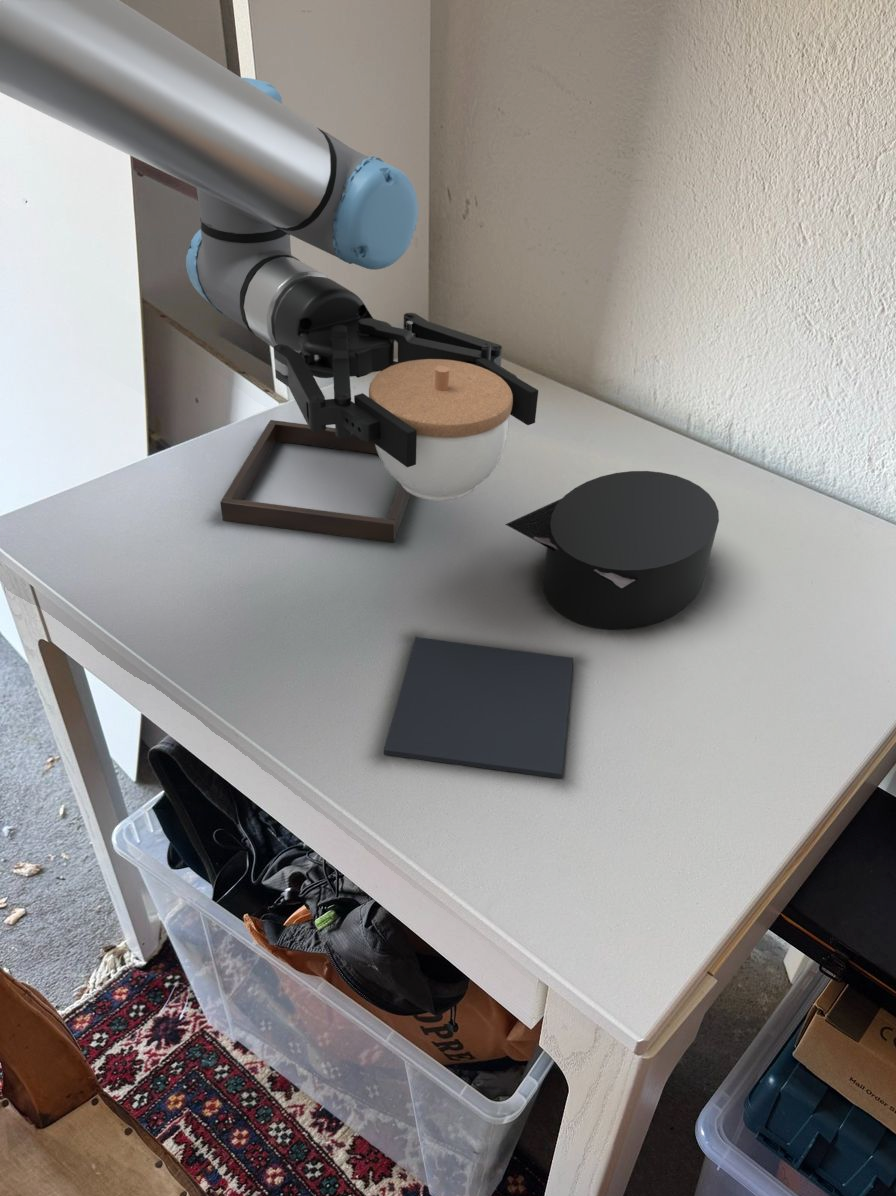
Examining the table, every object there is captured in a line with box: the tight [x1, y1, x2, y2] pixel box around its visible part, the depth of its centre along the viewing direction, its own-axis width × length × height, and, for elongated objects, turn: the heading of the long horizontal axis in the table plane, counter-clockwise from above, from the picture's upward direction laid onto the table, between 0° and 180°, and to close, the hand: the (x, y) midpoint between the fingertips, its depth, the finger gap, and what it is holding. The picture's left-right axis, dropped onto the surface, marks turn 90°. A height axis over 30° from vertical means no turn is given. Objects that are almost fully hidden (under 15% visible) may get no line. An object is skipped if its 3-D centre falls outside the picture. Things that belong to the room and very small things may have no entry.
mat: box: [383, 636, 574, 779], centre depth 78 cm, size 13×13×1 cm
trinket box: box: [368, 359, 513, 502], centre depth 77 cm, size 11×11×9 cm
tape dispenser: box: [504, 470, 720, 631], centre depth 90 cm, size 14×18×8 cm
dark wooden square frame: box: [219, 419, 411, 543], centre depth 99 cm, size 16×16×2 cm
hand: (475, 427), depth 74 cm, fingers closed on trinket box, 11 cm apart
